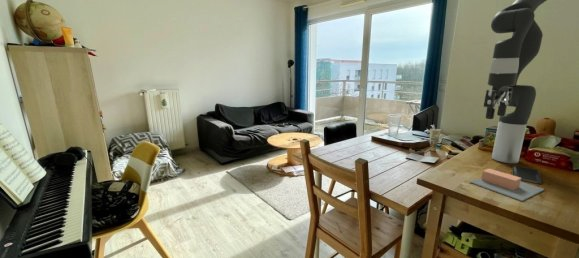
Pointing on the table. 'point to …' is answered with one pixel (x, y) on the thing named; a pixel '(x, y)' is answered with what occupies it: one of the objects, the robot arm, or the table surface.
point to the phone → (527, 174)
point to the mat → (518, 194)
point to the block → (501, 179)
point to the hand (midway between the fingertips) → (495, 117)
